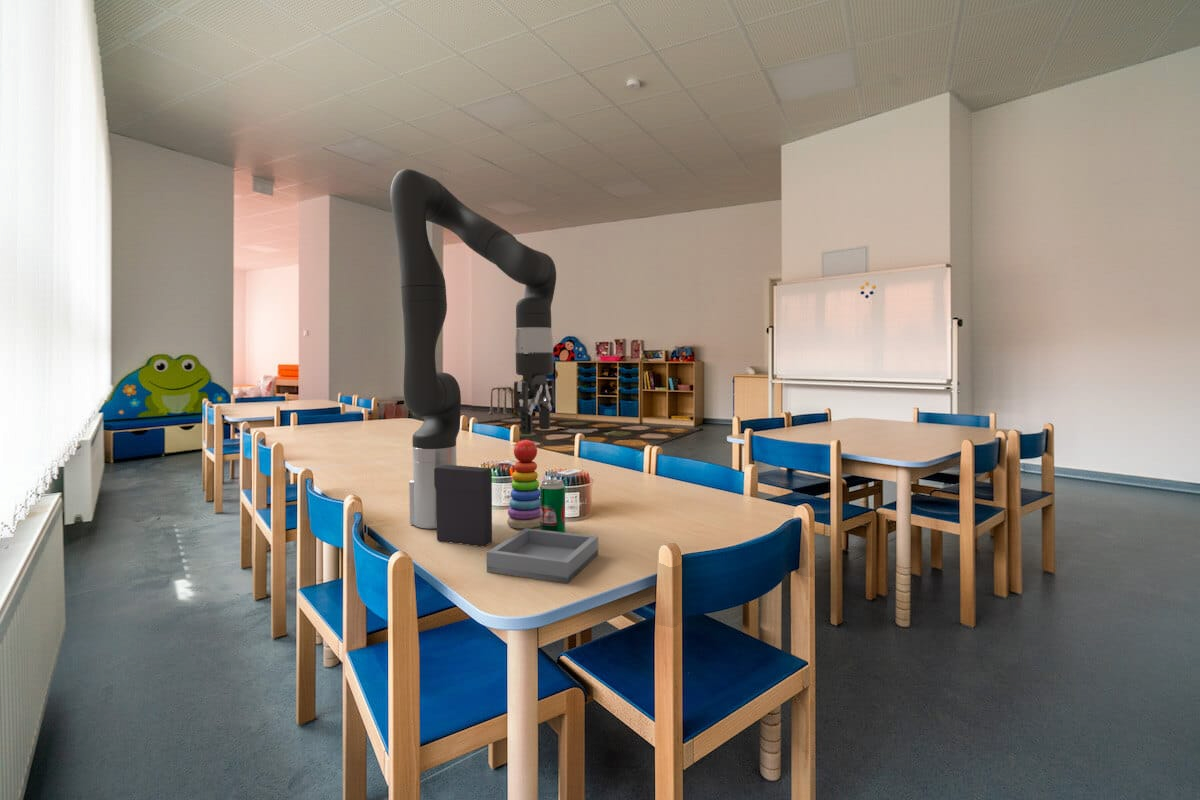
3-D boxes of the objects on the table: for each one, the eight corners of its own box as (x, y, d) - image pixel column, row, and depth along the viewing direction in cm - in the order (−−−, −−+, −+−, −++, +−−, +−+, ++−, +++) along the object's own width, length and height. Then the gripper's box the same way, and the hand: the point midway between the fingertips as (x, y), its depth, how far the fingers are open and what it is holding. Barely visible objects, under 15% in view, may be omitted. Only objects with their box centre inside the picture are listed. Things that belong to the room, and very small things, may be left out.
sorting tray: (486, 571, 101) (486, 552, 101) (525, 545, 115) (525, 528, 115) (567, 583, 96) (567, 562, 96) (598, 554, 110) (598, 536, 110)
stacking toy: (550, 526, 128) (550, 441, 127) (517, 532, 124) (516, 443, 123) (533, 518, 135) (533, 436, 134) (501, 523, 130) (500, 439, 129)
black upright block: (494, 541, 118) (493, 467, 116) (483, 548, 113) (482, 471, 112) (447, 535, 121) (446, 463, 120) (434, 541, 117) (433, 467, 116)
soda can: (534, 541, 118) (534, 482, 117) (550, 535, 122) (550, 477, 121) (554, 545, 115) (554, 485, 114) (570, 539, 119) (570, 480, 118)
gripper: (532, 351, 126) (534, 427, 127) (500, 351, 112) (502, 435, 113) (565, 351, 123) (566, 428, 124) (536, 350, 110) (538, 436, 111)
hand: (536, 431), depth 119 cm, fingers open, 8 cm apart
